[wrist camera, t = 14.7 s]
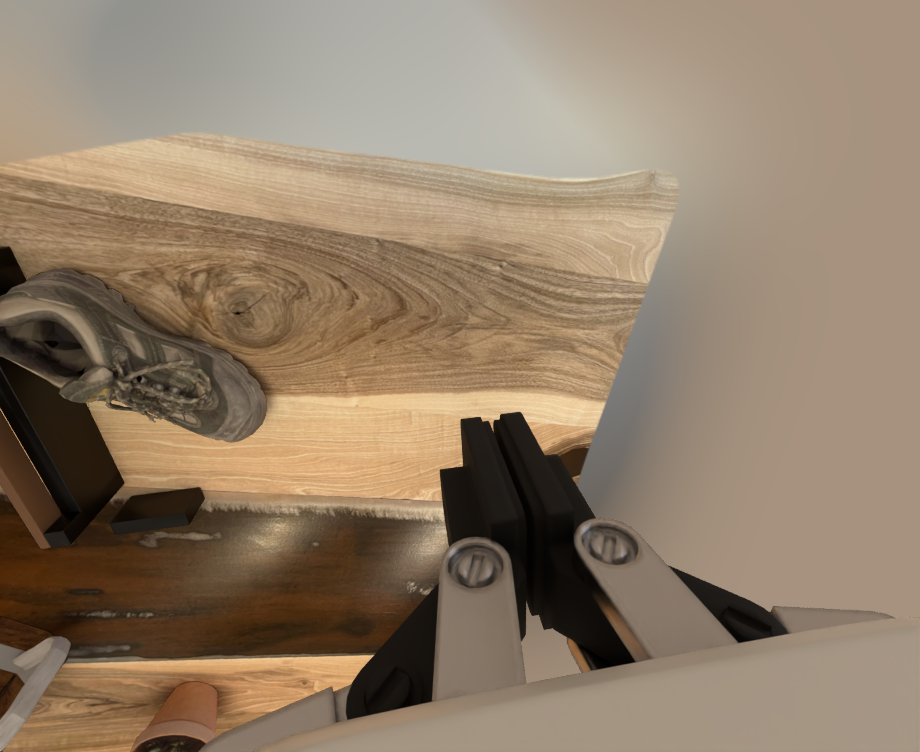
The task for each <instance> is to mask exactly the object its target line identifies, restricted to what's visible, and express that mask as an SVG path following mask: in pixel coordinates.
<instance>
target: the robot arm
mask: <svg viewBox="0 0 920 752" xmlns="http://www.w3.org/2000/svg"><path fill="white" fill-rule="evenodd" d="M493 427H494V433H493V430H492V428H491V425H490V423H489V421H484V422H482V419H481V417H474V418H466V419H461V439H462V455H463V467H455V468H448V469H440V480H441V490H442V500H443V509H444V516H445V524H446V530H447V537H448V543H449V548H448V549H447V550H446V551H445V553H444V554H443V556H442V559H441V563H440V575H439V583H438V584H437V585H436V587H435V588H434V589H433V590H432V591H431V592H430V593H429V594H428V595H427V597H426V598H425V599H424V600H423V601H422V602H421V603H420V604H419V606H418V607H417V608H416V609H415V610H414V611H413V612H412V613H411V615H410V616H409V617H408V618H407V619H406V620H405V621H404V622H403V624H402V625H401V626H400V627H399V628H398V629H397V630H396V631H395V632H394V634H393V635H392V636H391V637H390V638H389V639H388V640H387V641H386V643H385V644H384V645H383V646H382V647H381V648H380V649H379V650H378V652H377V653H376V654H375V655H374V656H373V657H372V658H371V659H370V661H369V662H368V663H367V664H366V665H365V666H364V667H363V668H362V670H361V671H360V672H359V674H358V675H357V676H356V678H355V679H354V681H353V682H352V684H351V685H349V686H346V687H344V688H342V689H339V690H337V691H335V692H333V688H332V687H329V688H327V689H325V690H322V691H320V692H317V693H315V694H313V695H310V696H308V697H306V698H303V699H301V700H299V701H296V702H294V703H292V704H289V705H287V706H285V707H282V708H280V709H278V710H275V711H273V712H271V713H268V714H266V715H264V716H261V717H259V718H257V719H254V720H252V721H250V722H247V723H245V724H243V725H240V726H238V727H236V728H233V729H231V730H229V731H226V732H224V733H222V734H220V735H219V736H217V737H215V738H214V739H212V740H211V741H209V742H207V743H206V744H205V745H204V746H203V747H202V748H201V749H200V750H199V751H198V752H920V617H912V618H911V617H909V618H894V617H892V616H890V615H887V614H883V613H878V612H873V611H860V610H840V609H820V608H819V609H818V608H800V607H780V606H773V608H772V610H771V612H768V611H767V610H765V609H764V608H763V607H761V606H759V605H757V604H755V603H753V602H751V601H749V600H747V599H745V598H743V597H740V596H738V595H735V594H733V593H731V592H728V591H726V590H724V589H722V588H719V587H717V586H715V585H712V584H710V583H708V582H706V581H703V580H701V579H699V578H696V577H694V576H691V575H689V574H687V573H685V572H682V571H680V570H678V569H675V568H673V567H671V566H668V565H667V564H666V563H665V562H664V561H663V560H662V559H661V557H660V556H659V555H658V554H657V553H656V552H655V551H654V550H653V549H652V547H651V546H650V545H649V544H648V543H647V542H646V541H645V540H644V539H643V538H642V536H641V535H640V534H639V533H638V532H636V531H635V530H634V529H633V528H632V527H630V526H628V525H626V524H624V523H623V522H620V521H617V520H614V519H609V518H596V517H595V516H594V514H593V512H592V511H591V509H590V508H589V506H588V504H587V502H586V501H585V499H584V497H583V496H582V494H581V492H580V491H579V489H578V487H577V486H576V484H575V482H574V481H573V479H572V477H571V476H570V474H569V472H568V471H567V469H566V467H565V465H564V464H563V462H562V460H561V459H560V457H559V456H558V455H556V454H552V455H544V453H543V451H542V450H541V448H540V446H539V444H538V442H537V440H536V439H535V437H534V435H533V433H532V431H531V429H530V428H529V426H528V424H527V422H526V420H525V419H524V417H523V415H522V413H521V412H515V413H507V414H501V415H500V420H494V424H493ZM526 601H527V604H528V607H529V610H530V613H531V615H532V616H534V615H539V617H540V620H541V622H542V625H543V628H544V630H546V629H551V628H554V630H556V631H557V632H559V633H561V634H563V635H564V636H566V637H567V644H568V647H569V649H570V652H571V654H572V656H573V658H574V659H575V661H576V663H577V665H578V667H579V669H580V671H581V673H578V674H573V675H567V676H562V677H557V678H552V679H546V680H541V681H537V682H531V683H526V678H525V670H524V662H523V653H522V645H521V641H522V640H523V638H524V637H525V635H526Z"/></svg>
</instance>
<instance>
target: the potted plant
mask: <svg viewBox="0 0 920 752" xmlns="http://www.w3.org/2000/svg"><path fill="white" fill-rule="evenodd" d="M217 699H218V693H217V690H216V689H215V688H214V687H212V686H211V685H209V684H205V683H201V682H187V683H183V684H181V685H179V686H178V687H176V688H175V690H174V691H173V692H172V694H171V695H170V696H169V698H168V699H167V700H166V702H165V703H164V705H163V706H162V708H161V709H160V710H159V712H158V713H157V714H156V716H155V717H154V719H153V720H152V721H151V723H150V724H149V726H148V727H147V728H146V729H145V730H144V731H142V733H141V734H140V735H139V736H138V737H137V738H136V740H135V742H134V744H133V747H132V749H131V751H130V752H198V751H199V750H200V749H201V748H202V747H203V746H204V745H205V744H206V743H207V742H209V741H211V740H212V739H214V738H215V737H217V736H216V735H215V732H216V717H217Z"/></svg>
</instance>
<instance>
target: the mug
mask: <svg viewBox="0 0 920 752" xmlns="http://www.w3.org/2000/svg"><path fill="white" fill-rule="evenodd" d="M70 645H71V643H70V642H69V641H68V639H66V638H63V637H60V636H52V635H51V634H50V632H48V631H45V630H42V629H38V628H35V627H32V626H29V625H26V624H23V623H20V622H17V621H14V620H10V619H7V618H4V617H1V616H0V752H2V751H3V750H4V749H5V748H6V746H7V745H8V744H9V742H10V741H11V740H12V739H13V737H14V736H15V735H16V734H17V732H18V731H19V730H20V729H21V727H22V726H23V725H24V724H25V723H26V721H27V719H28V718H29V716H30V714H31V713H32V711H33V709H34V708H35V706H36V704H37V703H38V701H39V699H40V698H41V696H42V694H43V693H44V691H45V690H46V689H47V687H48V686H49V684H50V683H51V681H52V680H53V678H54V677H55V675H56V673H57V672H58V670H59V669H60V668H61V666H62V665H63V664H64V663H65V662H66V660H67V654H68V652H69V649H70Z"/></svg>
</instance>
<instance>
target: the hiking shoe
mask: <svg viewBox="0 0 920 752" xmlns="http://www.w3.org/2000/svg"><path fill="white" fill-rule="evenodd" d="M134 308H135V306H134V305H132V304H131V303H124V302H123V299H122V294H120V293H119V292H117V291H115V290H114V289H106V287H105V285H104V283H103V282H101V281H100V280H98V279H96V278H94V277H92V276H90V275H88V274H87V275H81V274H79V273H77V272H75V271H73V270H69V269H56V270H52V271H47V272H43V273H39V274H37V275H35V276H33V277H32V278H30V279H28V280H27V281H26V282H24V283H23V284H20V285H17V286H15V287H12V288H11V289H10V290H9V291H8V293H7V294H5V295H2V296H0V356H1V357H4V358H6V359H8V360H10V361H12V362H14V363H16V364H18V365H20V366H22V367H24V368H25V369H27V370H29V371H31V372H33V373H35V374H37V375H39V376H41V377H43V378H44V379H46V380H48V381H49V382H50V383H51V384H53V385H55V386H57V387H58V388H59V389H60V392H59V394H60V395H62V396H63V397H64V398H65V399H68V400H70V401H73V402H78V403H85V402H93V401H96V400H97V401H106V402H107V404H106V406H107V407H108V408H111V409H116V410H129V411H135V412H139V413H140V414H142V415H147V416H148V417H149V419H150V420H152V421H154V419H153V418H156V419H165V420H167V421H170V422H172V423H173V424H174V425H178V426H181V427H183V428H185V429H187V430H190V431H192V432H195V433H197V434H200V435H202V436H205V437H208V438H212V439H215V440H223V441H226V442H231V443H232V442H237V441H241V440H243V439H245V438H247V437H248V436H250V435H252V434H253V433H254V432H255V431H256V430H257V429H258V428H259V427H260V426H261V425H262V423H263V421H264V419H265V415H266V411H267V400H266V398H265V395H264V392H262V391H261V390H260V384H259V383H258V382H257V380H256V379H255V378H253V377H252V376H251V375H249V374H248V370H247V369H246V368H245V367H244V366H243V365H242V364H241V363H240V362H237V361H235V360H233V357H232V356H231V355H230V354H229V353H227V352H225V351H223V350H221V349H215V348H212V347H211V346H210V344H208V343H206V342H203V341H200V340H191V339H189V338H187V337H183V336H172V335H168V334H165V333H163V332H161V331H159V330H156V329H154V328H152V327H151V326H150V325H148V324H147V323H146V322H144V321H143V320H142V319H141V318H140V317H139V316H138V315H137V314H136V313H135V312H134V311H133V310H134ZM111 400H115V401H119V402H122V403H123V404H125V405H127V406H128V407H123V406H120V405H115V404H112V403H111ZM147 412H149V413H152V414H154V415H156V416H158V417H155V416H152V415H150V414H148V413H147ZM154 422H156V421H154Z"/></svg>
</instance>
